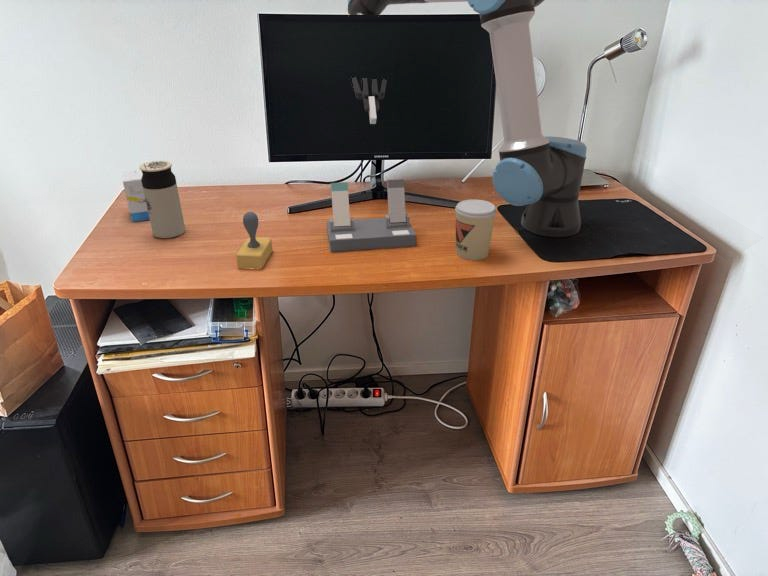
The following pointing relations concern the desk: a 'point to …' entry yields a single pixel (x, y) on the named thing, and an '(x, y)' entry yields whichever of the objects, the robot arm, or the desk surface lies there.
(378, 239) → the control panel
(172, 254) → the desk surface
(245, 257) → the rubber stamp
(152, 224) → the travel mug
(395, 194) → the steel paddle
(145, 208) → the ink box
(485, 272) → the desk surface
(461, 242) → the coffee cup
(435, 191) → the desk surface
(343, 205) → the cream paddle
